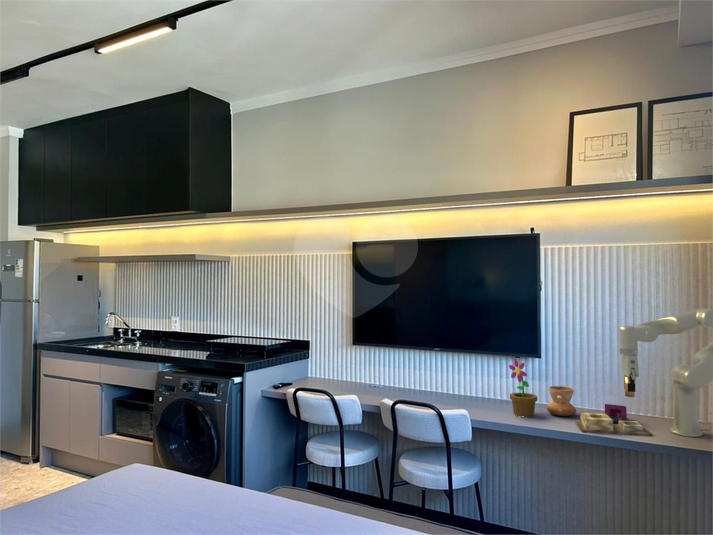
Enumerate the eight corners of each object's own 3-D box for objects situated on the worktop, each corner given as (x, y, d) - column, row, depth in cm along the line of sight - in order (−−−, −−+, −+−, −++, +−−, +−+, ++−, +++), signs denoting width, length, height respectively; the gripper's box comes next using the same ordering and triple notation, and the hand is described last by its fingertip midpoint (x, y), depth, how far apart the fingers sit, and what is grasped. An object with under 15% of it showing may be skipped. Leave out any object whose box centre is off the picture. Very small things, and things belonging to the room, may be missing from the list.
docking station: (641, 427, 238) (641, 414, 238) (652, 436, 224) (652, 422, 225) (575, 423, 244) (575, 411, 244) (582, 432, 231) (581, 419, 231)
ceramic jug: (574, 420, 251) (574, 392, 251) (544, 416, 258) (544, 388, 259) (577, 412, 266) (577, 386, 267) (549, 409, 274) (549, 383, 274)
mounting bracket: (606, 428, 257) (604, 420, 243) (606, 412, 260) (604, 403, 246) (627, 430, 252) (626, 423, 238) (627, 414, 256) (626, 406, 242)
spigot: (633, 395, 235) (632, 376, 235) (636, 397, 231) (635, 378, 231) (623, 395, 236) (623, 376, 236) (626, 396, 232) (626, 377, 232)
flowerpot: (503, 413, 264) (503, 357, 265) (522, 410, 271) (522, 355, 272) (524, 419, 252) (523, 361, 253) (543, 416, 259) (542, 359, 260)
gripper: (643, 354, 225) (645, 394, 224) (631, 349, 241) (632, 387, 241) (626, 354, 226) (627, 394, 226) (614, 349, 243) (615, 386, 242)
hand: (629, 390), depth 233 cm, fingers closed on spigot, 4 cm apart
